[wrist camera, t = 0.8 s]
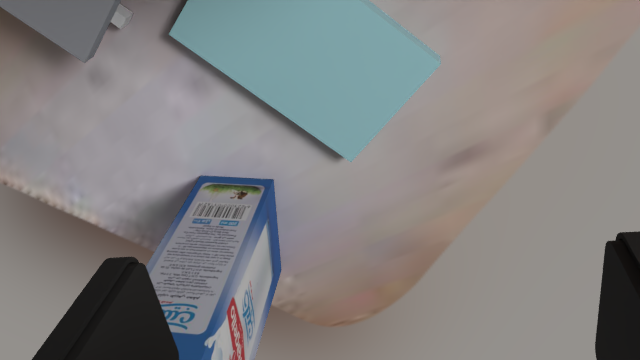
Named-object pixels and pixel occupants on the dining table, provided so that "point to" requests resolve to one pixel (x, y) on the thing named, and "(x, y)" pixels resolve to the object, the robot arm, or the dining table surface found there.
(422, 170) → the dining table surface
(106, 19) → the grey slotted box
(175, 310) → the milk carton
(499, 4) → the dining table surface
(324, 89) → the tile
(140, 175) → the dining table surface
